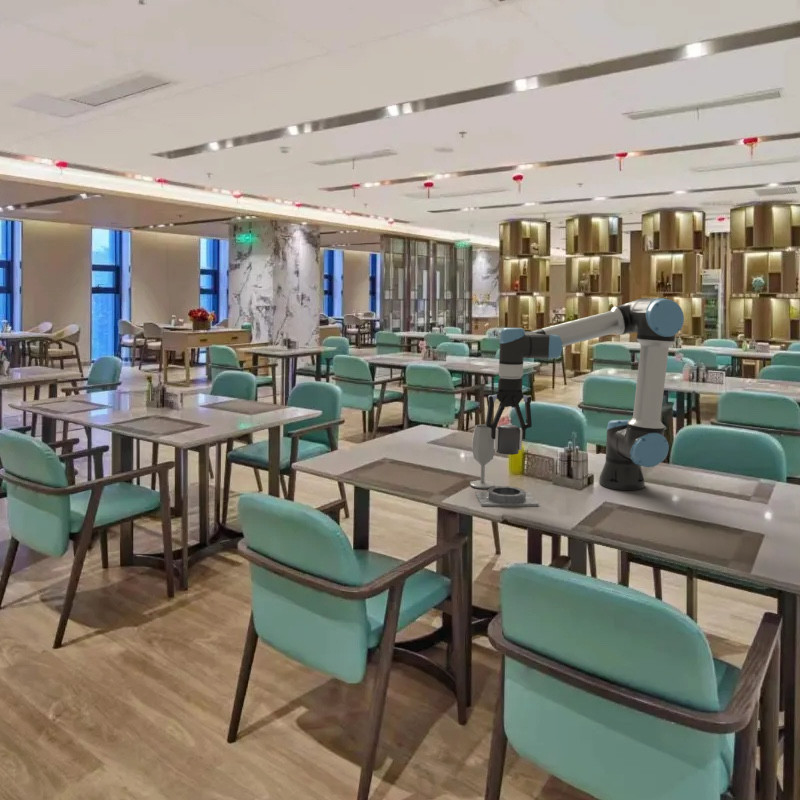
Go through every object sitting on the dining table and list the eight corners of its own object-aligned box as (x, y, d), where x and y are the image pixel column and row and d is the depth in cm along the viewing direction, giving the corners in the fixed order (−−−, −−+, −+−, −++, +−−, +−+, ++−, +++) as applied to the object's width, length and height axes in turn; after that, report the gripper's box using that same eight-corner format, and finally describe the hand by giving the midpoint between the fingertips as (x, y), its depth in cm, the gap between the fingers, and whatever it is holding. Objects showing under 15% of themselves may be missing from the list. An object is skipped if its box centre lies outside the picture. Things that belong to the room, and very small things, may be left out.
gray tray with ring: (529, 494, 244) (529, 485, 243) (538, 506, 231) (538, 496, 230) (475, 494, 243) (475, 485, 242) (481, 506, 230) (481, 496, 230)
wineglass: (475, 490, 249) (476, 428, 246) (466, 483, 257) (467, 424, 254) (499, 488, 251) (501, 427, 248) (489, 482, 259) (491, 423, 256)
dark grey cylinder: (516, 449, 238) (517, 424, 237) (520, 454, 231) (521, 428, 230) (494, 449, 238) (495, 424, 237) (498, 454, 231) (499, 428, 230)
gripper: (539, 376, 235) (535, 446, 239) (477, 375, 234) (474, 446, 238) (544, 379, 228) (541, 451, 231) (480, 378, 227) (478, 451, 230)
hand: (507, 448), depth 234 cm, fingers closed on dark grey cylinder, 7 cm apart
